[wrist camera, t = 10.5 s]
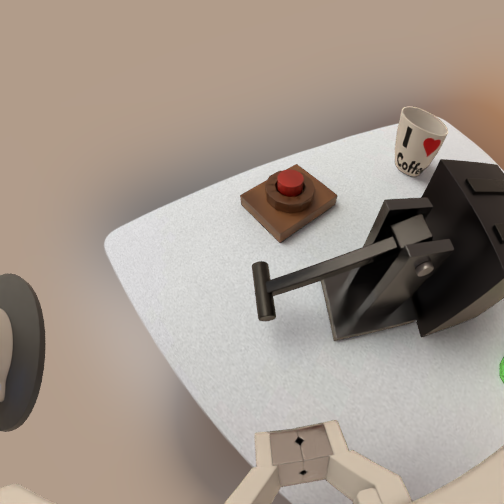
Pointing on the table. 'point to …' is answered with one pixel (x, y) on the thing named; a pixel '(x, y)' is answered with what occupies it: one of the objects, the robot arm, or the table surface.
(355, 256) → the toaster lever
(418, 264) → the toaster bracket
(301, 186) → the button
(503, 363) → the game piece
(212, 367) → the table surface
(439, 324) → the toaster
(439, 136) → the cup
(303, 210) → the control block
